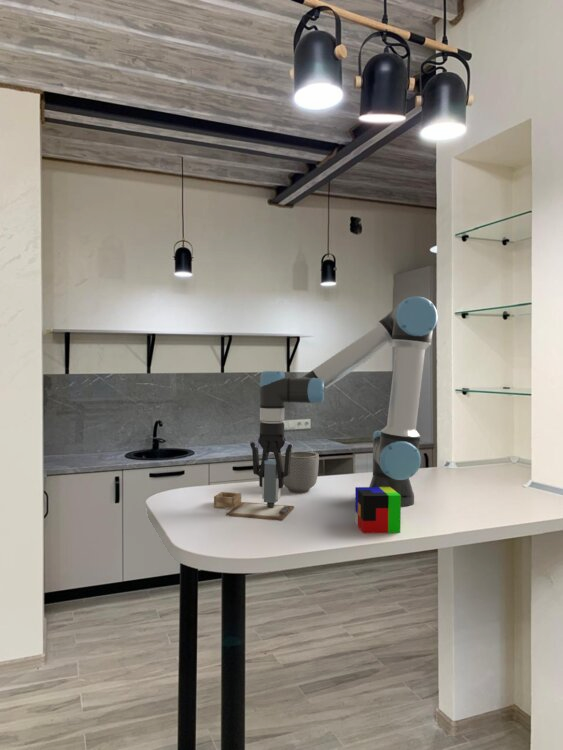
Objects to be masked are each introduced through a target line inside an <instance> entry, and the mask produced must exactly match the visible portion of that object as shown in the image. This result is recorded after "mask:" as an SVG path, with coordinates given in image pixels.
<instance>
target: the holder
mask: <svg viewBox="0 0 563 750" xmlns="http://www.w3.org/2000/svg"><path fill="white" fill-rule="evenodd" d="M241 502H242V493H241V492H229V491H228V492H227V491H221V492H219V493H218V494H216V495H214V496H213V508H214V507H215V508H214V509H225V508H227V510H228V509H229V510H232V509H233V508H235V507H236V506H237V505H239V504H240V503H241Z"/></svg>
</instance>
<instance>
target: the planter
mask: <svg viewBox="0 0 563 750" xmlns="http://www.w3.org/2000/svg"><path fill="white" fill-rule="evenodd" d="M285 453H286V451H283V452H282V451H281V459H282V465H283V472H284V466H285ZM319 463H320V456H319V453H318V452H315V451H306V450H305V451H304V450H293V451H291V463H290V474H289V475H288V476H286V477H284V484H283V487H285V488H287V490H288V491H289V492H290V493H294V494H305V493H308V492H310V490H311V489H312V488H313V487H314V486H315V485H316V483H317V481H318V475H319Z"/></svg>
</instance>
